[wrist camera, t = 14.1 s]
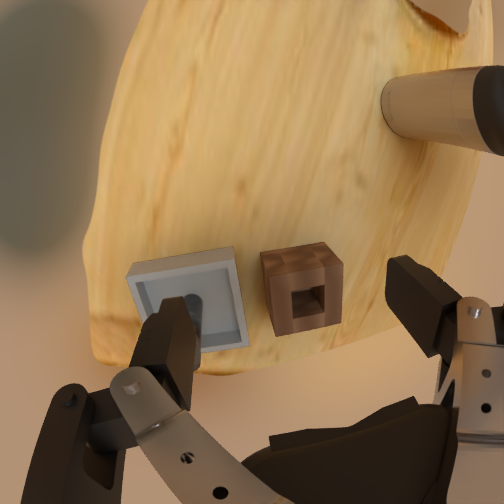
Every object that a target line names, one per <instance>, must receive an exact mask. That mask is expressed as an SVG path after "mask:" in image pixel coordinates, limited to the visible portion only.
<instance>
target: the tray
mask: <svg viewBox="0 0 504 504" xmlns="http://www.w3.org/2000/svg"><path fill="white" fill-rule="evenodd" d="M126 279H127V282H128V285H129V288H130V291H131V293H132V296H133V299H134V302H135V304H136V307H137V309H138V312H139V315H140V317H141V320H142V322H143V323H144V322H145V321H146V319H147V318H148V317H149V316H150V315H151V314H152V313H158V311H159V308H160V305H161V302H162V299H164V298H171V297H178V296H183V298H184V296H186V295H188V294H196V295H198V296H199V297H201V299H202V301H203V313H202V334H201V353H207V352H214V351H221V350H228V349H235V348H241V347H247V346H250V343H249V337H248V331H247V325H246V319H245V314H244V308H243V303H242V297H241V291H240V285H239V280H238V274H237V268H236V262H235V256H234V250H233V247H227V248H221V249H215V250H209V251H203V252H197V253H191V254H185V255H179V256H173V257H167V258H161V259H155V260H149V261H144V262H138V263H133V265H132V266H131V268H130V270H129V272H128V274H127V275H126Z"/></svg>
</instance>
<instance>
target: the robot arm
mask: <svg viewBox="0 0 504 504" xmlns="http://www.w3.org/2000/svg"><path fill="white" fill-rule="evenodd" d="M381 106H382V112H383V115H384V117H385V120H386V122H387V123H388V125H389V126H390V127H391V129H392V130H393V131H394V132H396V133H397V134H398V135H400V136H402V137H405V138H411V139H418V140H425V141H431V142H437V143H443V144H449V145H455V146H460V147H465V148H470V149H475V150H479V151H485V152H488V153H493V154H497V155H500V156H504V66H499V65H497V66H478V67H467V68H457V69H448V70H440V71H433V72H426V73H420V74H413V75H407V76H402V77H397V78H394V79H392V80H391V81H389V82H388V83H387V85H386V86H385V87H384V90H383V92H382V98H381ZM385 298H386V302H387V304H388V306H389V308H390V309H391V310H392V311H393V313H394V314H395V315H396V316H397V318H398V319H399V320H400V322H401V323H402V324H403V325H404V327H405V328H406V329H407V331H408V332H409V333H410V335H411V336H412V337H413V339H414V340H415V341H416V342H417V344H418V345H419V346H420V348H421V349H422V351H423V352H424V353H425V355H426V356H427V357H428V358H430V357H432V356H435V355H437V354H440V355H441V358H440V361H439V367H438V375H437V383H436V389H435V395H434V400H433V404H420V405H419V404H418V402H417V401H416V399H415V397H414V396H412V397H410V398H407V399H405V400H402V401H399V402H397V403H394V404H392V405H389V406H386V407H383V408H381V409H380V410H378V411H376V412H375V413H373V414H372V415H370V416H368V417H366V418H365V419H363V420H361V421H359V422H358V423H356V424H354V425H352V426H349V427H343V428H320V429H305V430H300V431H295V432H290V433H284V434H278V435H272V436H269V441H270V446H268V447H266V448H264V449H261V450H260V451H257V452H255V453H254V454H252V455H250V456H249V457H247V458H246V459H245V460H243V461H242V462H241V463H240V462H239V461H237V460H236V459H235V458H234V457H233V456H232V455H231V454H230V453H228V451H226V450H225V449H224V448H223V447H222V446H221V445H220V444H219V443H218V442H217V441H216V440H215V439H214V438H213V437H212V436H211V435H210V434H209V433H208V432H207V431H206V430H205V429H204V428H203V427H202V426H201V425H200V424H199V423H198V422H197V421H196V420H195V419H194V418H193V417H192V416H191V414H190V413H189V412H188V411H190V406H191V394H192V382H193V370H194V360H195V349H196V336H195V331H194V327H193V324H192V321H191V318H190V315H189V312H188V309H187V306H186V303H185V300H184V298H183V296H178V297H171V298H164V299H162V302H161V305H160V308H159V311H158V313H152V314H151V315H150V316H149V317H148V318H147V319H146V321H145V322H144V323H143V326H142V329H141V334H140V335H139V338H138V341H137V344H136V347H135V350H134V353H133V356H132V359H131V362H130V365H129V368H127V369H124V370H122V371H121V372H119V373H118V374H117V375H116V376H115V377H114V378H113V379H112V381H111V384H110V387H109V388H106V389H103V390H100V391H96V392H92V393H88V392H87V391H86V389H85V388H84V387H83V386H82V385H80V384H75V383H73V384H68V385H66V386H64V387H62V388H61V389H59V390H58V391H57V392H56V394H55V395H54V396H53V398H52V401H51V404H50V406H49V409H48V411H47V414H46V417H45V420H44V423H43V425H42V428H41V431H40V434H39V437H38V440H37V443H36V446H35V450H34V453H33V456H32V459H31V463H30V467H29V470H28V474H27V478H26V482H25V486H24V490H23V495H22V499H21V504H121V492H122V481H123V471H124V462H125V454H126V449H128V448H132V447H136V446H140V448H141V449H142V451H143V452H144V454H145V455H146V457H147V458H148V460H149V461H150V462H151V464H152V465H153V467H154V468H155V470H156V471H157V472H158V474H159V475H160V476H161V478H162V479H163V480H164V482H165V483H166V484H167V486H168V487H169V488H170V489H171V491H172V492H173V493H174V494H175V496H176V497H177V498H178V499H179V500H180V502H181V503H182V504H504V304H503V306H501V307H492V308H491V307H490V306H489V305H488V304H487V303H486V302H485V301H484V300H482V299H479V298H476V297H465V298H462V296H460V295H459V294H458V293H457V292H456V291H455V290H454V289H453V288H451V287H450V286H449V285H448V284H447V283H446V282H443V280H442V279H441V278H440V277H439V276H438V277H437V275H436V274H435V273H434V272H433V271H432V270H431V269H429V268H427V267H425V266H422V265H420V264H418V263H416V262H415V261H414V260H413V259H412V258H410V257H409V256H408V255H402V256H398V257H393V258H390V259H389V260H388V263H387V274H386V286H385Z"/></svg>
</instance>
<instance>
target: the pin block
mask: <svg viewBox="0 0 504 504" xmlns="http://www.w3.org/2000/svg"><path fill="white" fill-rule="evenodd" d="M260 254H261V261H262V269H263V277H264V285H265V293H266V301H267V308H268V311H269V315H270V319H271V322H272V326H273V329H274V333H275V336H276V337H278V336H283V335H288V334H293V333H298V332H303V331H308V330H312V329H317V328H321V327H326V326H330V325H334V324H339V323H341V315H342V292H343V263H342V262H341V260H340V259H339V258H338V257H337V256H336V255H335V254H334V253H333V251H332V250H331V249H330V248H329V247H328V246H327V245H326V244H325V242H320V243H314V244H308V245H302V246H296V247H290V248H284V249H278V250H272V251H266V252H260Z"/></svg>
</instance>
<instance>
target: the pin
mask: <svg viewBox="0 0 504 504" xmlns="http://www.w3.org/2000/svg"><path fill="white" fill-rule="evenodd" d="M184 300H185V303H186V306H187V309H188V312H189V315H190V318H191V321H192V324H193V327H194V331H195V336H196V349H195V360H194V370H193V371H195V370H197V369H198V368H199V367H200V360H201V334H202V313H203V301H202V299H201V297H199V296H198V295H196V294H188V295H186V296H184Z"/></svg>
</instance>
